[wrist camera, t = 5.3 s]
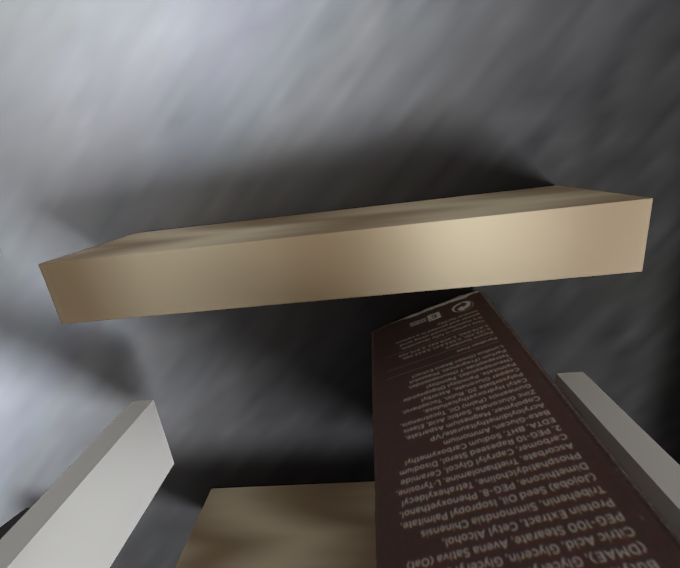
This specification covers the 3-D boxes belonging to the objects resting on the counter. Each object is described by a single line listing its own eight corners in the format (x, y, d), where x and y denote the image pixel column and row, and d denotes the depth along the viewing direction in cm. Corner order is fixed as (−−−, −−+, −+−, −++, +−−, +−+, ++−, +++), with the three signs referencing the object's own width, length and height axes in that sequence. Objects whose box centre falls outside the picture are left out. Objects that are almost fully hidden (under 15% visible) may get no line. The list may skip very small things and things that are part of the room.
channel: (219, 514, 17) (177, 618, 13) (135, 233, 13) (38, 263, 9) (534, 503, 16) (590, 614, 12) (556, 185, 11) (652, 198, 8)
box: (361, 331, 13) (356, 1304, 2) (481, 285, 13) (1641, 1507, 1) (419, 453, 15) (600, 1371, 4) (529, 419, 14) (1206, 1471, 3)
